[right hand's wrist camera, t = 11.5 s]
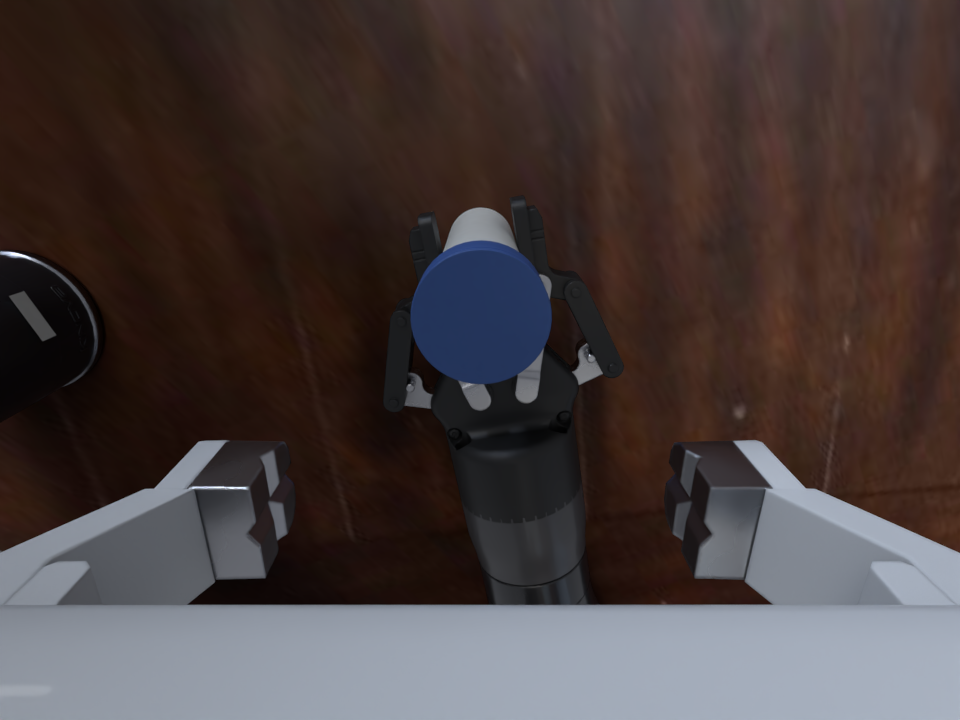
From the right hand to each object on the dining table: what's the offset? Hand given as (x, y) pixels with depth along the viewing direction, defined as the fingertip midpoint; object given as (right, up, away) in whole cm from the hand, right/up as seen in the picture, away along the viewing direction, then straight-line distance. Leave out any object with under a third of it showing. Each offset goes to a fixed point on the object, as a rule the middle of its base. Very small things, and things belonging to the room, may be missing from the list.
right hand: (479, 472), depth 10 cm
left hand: (0, +10, +17) cm, 20 cm away
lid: (0, +4, +9) cm, 10 cm away
